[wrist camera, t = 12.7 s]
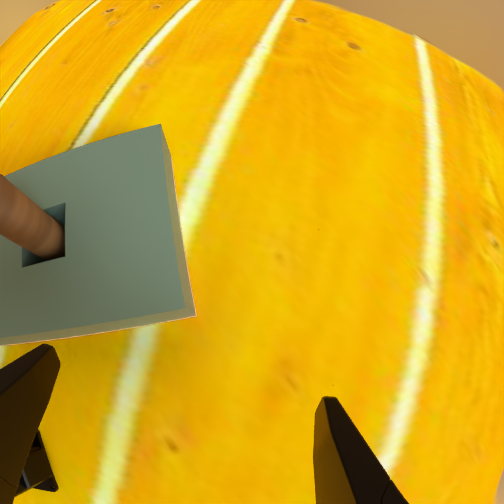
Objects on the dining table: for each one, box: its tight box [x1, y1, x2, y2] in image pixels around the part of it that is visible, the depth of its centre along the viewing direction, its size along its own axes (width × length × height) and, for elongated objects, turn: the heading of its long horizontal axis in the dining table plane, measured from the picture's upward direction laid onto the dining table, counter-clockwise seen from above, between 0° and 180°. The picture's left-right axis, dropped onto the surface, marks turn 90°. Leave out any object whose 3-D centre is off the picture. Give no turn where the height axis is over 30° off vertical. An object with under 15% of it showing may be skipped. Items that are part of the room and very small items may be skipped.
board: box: [0, 124, 197, 346], centre depth 21 cm, size 20×14×5 cm
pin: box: [0, 174, 65, 261], centre depth 18 cm, size 3×3×11 cm
